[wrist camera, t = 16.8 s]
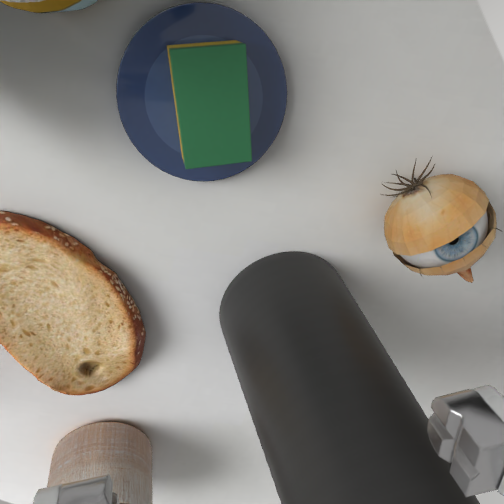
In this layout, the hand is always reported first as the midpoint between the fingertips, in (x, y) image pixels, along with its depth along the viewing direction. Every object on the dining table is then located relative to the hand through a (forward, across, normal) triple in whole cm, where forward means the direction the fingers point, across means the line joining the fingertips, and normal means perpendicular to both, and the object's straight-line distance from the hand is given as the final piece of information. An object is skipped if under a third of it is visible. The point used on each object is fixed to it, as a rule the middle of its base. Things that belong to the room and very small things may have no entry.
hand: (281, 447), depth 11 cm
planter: (+29, +14, +35) cm, 48 cm away
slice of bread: (+29, +14, +14) cm, 35 cm away
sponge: (+28, -2, -3) cm, 28 cm away
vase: (+29, -8, +19) cm, 36 cm away
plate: (+29, -2, -3) cm, 29 cm away
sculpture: (+29, -22, +10) cm, 38 cm away
